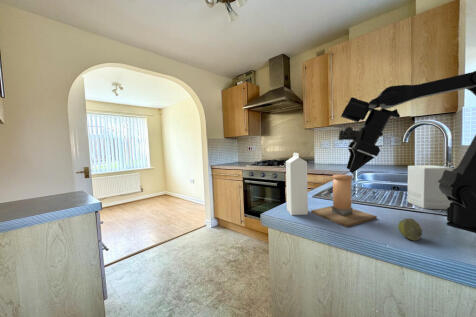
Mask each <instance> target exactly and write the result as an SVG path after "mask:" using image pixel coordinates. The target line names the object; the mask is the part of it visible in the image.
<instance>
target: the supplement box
mask: <svg viewBox="0 0 476 317" xmlns="http://www.w3.org/2000/svg"><path fill="white" fill-rule="evenodd" d="M445 170H448V171H453V170H454V167H449V166H441V165H433V164H432V165H430V164H429V165H427V164H426V165H407V199H406V200H407V201H406V202H407V203H409V204H410V205H411V204H412V205H414V206H416V207H419V208H421V209H423V210H427V209H428V210H431V209H432V210H447V208H448V207H450V203H452V201H449V200H448V198H447V196H446V195H444V194H443V193H442V192H441V190H440V189H439V185H440V183H439V182H438V181H439V180H440V179H441V178H442V176H443V172H444V171H445Z"/></svg>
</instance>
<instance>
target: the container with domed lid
mask: <svg viewBox="0 0 476 317" xmlns="http://www.w3.org/2000/svg"><path fill="white" fill-rule="evenodd" d="M352 179H353V175H349V174H333V175H332V206H333V207H335V208H337V209H343V210H348V209H351V207H352Z"/></svg>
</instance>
